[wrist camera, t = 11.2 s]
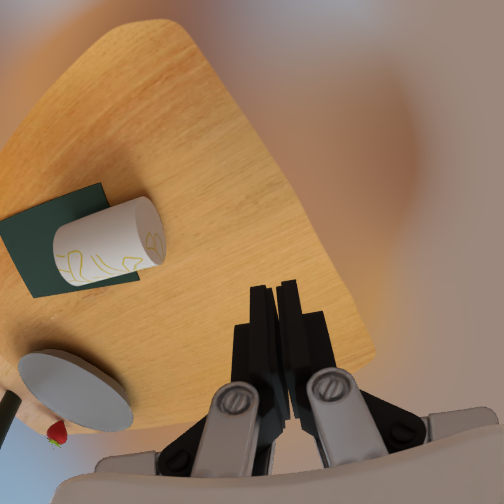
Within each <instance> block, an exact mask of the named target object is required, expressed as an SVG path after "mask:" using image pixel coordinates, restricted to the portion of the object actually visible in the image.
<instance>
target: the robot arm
mask: <svg viewBox="0 0 504 504" xmlns="http://www.w3.org/2000/svg"><path fill="white" fill-rule="evenodd" d="M281 285H282V286H278V287H276V292H277V302H278V313H279V319H278V314H277V309H276V305H275V300H274V296H273V291H272V288H266V286H265V285H260V286H254V287H250V323H246V324H239V325H235V327H234V340H233V355H232V370H231V382H230V383H228V384H225V385H224V386H222V387H220V388H219V389H218V390H217V391H216V393H215V394H214V396H213V398H212V401H211V405H210V409H209V412H208V414H207V415H206V416H205V417H203V418H202V419H201V420H200V421H199V422H197V423H196V424H195V425H194V426H192V427H191V428H190V429H189V430H187V431H186V432H185V433H184V434H182V435H181V436H180V437H179V438H177V439H176V440H175V441H173V442H172V443H171V444H169V445H168V446H167V447H166V448H165V449H164V450H163V451H162V452H155V451H154V450H153V451H148V452H140V453H134V454H126V455H119V456H109V457H106V458H103V459H102V460H100V461H99V462H98V464H97V465H96V467H95V471H94V473H88V474H82V475H78V476H75V477H72V478H69V479H68V480H65V481H64V482H62V483H61V484H60V485H59V486H58V487H57V488H56V490H55V491H54V494H53V495H52V497H51V500H50V503H49V504H504V424H499V421H498V418H497V415H496V413H495V412H494V411H493V410H492V409H490V408H487V407H475V408H469V409H464V410H456V411H449V412H441V413H433V414H429V415H428V416H427V417H418V416H416V415H415V414H413V413H411V412H408V411H406V410H404V409H401V408H399V407H397V406H395V405H392V404H390V403H388V402H386V401H384V400H381V399H379V398H377V397H375V396H373V395H371V394H369V393H366V392H364V391H362V390H360V389H359V388H358V386H357V384H356V382H355V379H354V378H353V376H352V375H351V374H350V373H349V372H347V371H346V370H344V369H341V368H337V367H336V362H335V358H334V354H333V350H332V346H331V342H330V337H329V333H328V329H327V325H326V321H325V318H324V314H323V311H318V312H313V313H307V314H302V310H301V304H300V299H299V294H298V288H297V283H296V279H294V280H289V281H283V282H281ZM288 390H289V395H290V399H291V403H292V407H293V412H294V416H295V418H296V419H297V418H300V421H301V427H302V430H304V431H306V432H307V433H309V434H310V435H312V436H314V441H315V444H316V447H317V450H318V453H319V457H320V460H321V463H322V466H323V469H319V470H312V471H304V472H298V473H289V474H279V475H271V473H272V466H273V459H274V452H275V445H276V443H275V439H276V438H277V437H278V436H279V435H280V434H281V433H282V432H283V429H284V428H285V420H290V408H289V395H288Z"/></svg>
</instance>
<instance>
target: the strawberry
mask: <svg viewBox="0 0 504 504" xmlns="http://www.w3.org/2000/svg"><path fill="white" fill-rule="evenodd" d="M47 436H48V438H47V439H49V440H50V441H49V442H51V443H54V444H55V445H57V446H58V447H60V446H59V445H61V444H63V443H65V442H66V440H67V431H66V428H65V425H64V422H63V421H62V420H60V421H58V422H57V423H55V424H53V425H52V426H50V428H49V429H48V430H47ZM58 444H59V445H58ZM60 448H61V447H60Z"/></svg>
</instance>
